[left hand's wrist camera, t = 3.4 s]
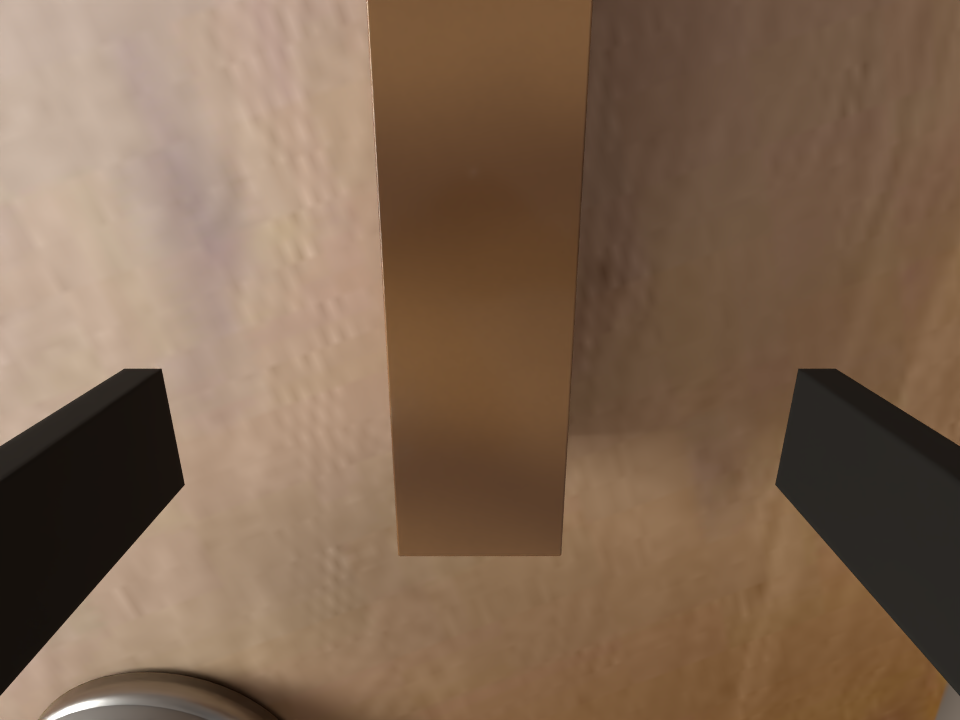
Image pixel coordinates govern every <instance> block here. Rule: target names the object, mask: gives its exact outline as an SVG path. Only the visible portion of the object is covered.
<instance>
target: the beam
mask: <svg viewBox="0 0 960 720" xmlns="http://www.w3.org/2000/svg"><path fill="white" fill-rule="evenodd" d="M366 2H367V19H368V36H369V54H370V71H371V88H372V106H373V123H374V141H375V158H376V175H377V193H378V210H379V228H380V245H381V262H382V280H383V297H384V314H385V332H386V349H387V367H388V384H389V401H390V419H391V436H392V453H393V471H394V488H395V506H396V523H397V540H398V555H399V556H560V555H561V547H562V530H563V513H564V495H565V478H566V460H567V443H568V425H569V408H570V390H571V373H572V355H573V338H574V321H575V303H576V286H577V268H578V251H579V233H580V216H581V198H582V181H583V163H584V146H585V129H586V111H587V94H588V76H589V59H590V41H591V24H592V6H593V0H366Z"/></svg>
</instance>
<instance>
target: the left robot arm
mask: <svg viewBox="0 0 960 720" xmlns="http://www.w3.org/2000/svg"><path fill="white" fill-rule="evenodd" d="M184 485H185V484H184V479H183V474H182V469H181V464H180V459H179V454H178V449H177V444H176V439H175V434H174V429H173V424H172V419H171V414H170V409H169V404H168V399H167V394H166V389H165V384H164V379H163V373H162V369H123V370H122V371H120V372H118V373H117V374H115V375H114V376H112V377H110V378H109V379H107V380H106V381H104V382H102V383H101V384H99V385H98V386H96V387H94V388H93V389H91V390H90V391H88V392H86V393H85V394H83V395H82V396H80V397H78V398H77V399H75V400H74V401H72V402H70V403H69V404H67V405H66V406H64V407H62V408H61V409H59V410H58V411H56V412H54V413H53V414H51V415H50V416H48V417H46V418H45V419H43V420H42V421H40V422H38V423H37V424H35V425H34V426H32V427H30V428H29V429H27V430H26V431H24V432H22V433H21V434H19V435H18V436H16V437H14V438H13V439H11V440H10V441H8V442H6V443H5V444H3V445H2V446H0V695H1V694H2V693H3V692H4V691H5V690H6V689H7V687H8V686H9V685H10V684H11V683H12V682H13V681H14V679H15V678H16V677H17V676H18V675H19V674H20V673H21V671H22V670H23V669H24V668H25V667H26V666H27V665H28V663H29V662H30V661H31V660H32V659H33V658H34V657H35V655H36V654H37V653H38V652H39V651H40V650H41V649H42V647H43V646H44V645H45V644H46V643H47V642H48V641H49V639H50V638H51V637H52V636H53V635H54V634H55V633H56V631H57V630H58V629H59V628H60V627H61V626H62V625H63V623H64V622H65V621H66V620H67V619H68V618H69V617H70V615H71V614H72V613H73V612H74V611H75V610H76V609H77V607H78V606H79V605H80V604H81V603H82V602H83V601H84V599H85V598H86V597H87V596H88V595H89V594H90V592H91V591H92V590H93V589H94V588H95V587H96V586H97V584H98V583H99V582H100V581H101V580H102V579H103V578H104V576H105V575H106V574H107V573H108V572H109V571H110V570H111V568H112V567H113V566H114V565H115V564H116V563H117V562H118V560H119V559H120V558H121V557H122V556H123V555H124V554H125V552H126V551H127V550H128V549H129V548H130V547H131V546H132V544H133V543H134V542H135V541H136V540H137V539H138V538H139V536H140V535H141V534H142V533H143V532H144V531H145V530H146V528H147V527H148V526H149V525H150V524H151V523H152V522H153V520H154V519H155V518H156V517H157V516H158V515H159V514H160V512H161V511H162V510H163V509H164V508H165V507H166V506H167V504H168V503H169V502H170V501H171V500H172V499H173V498H174V496H175V495H176V494H177V493H178V492H179V491H180V490H181V488H182V487H183V486H184ZM775 485H776V486H777V487H778V488H779V490H780V491H781V492H782V493H783V494H784V495H785V496H786V498H787V499H788V500H789V501H790V502H791V503H792V504H793V506H794V507H795V508H796V509H797V510H798V511H799V512H800V514H801V515H802V516H803V517H804V518H805V519H806V520H807V522H808V523H809V524H810V525H811V526H812V527H813V528H814V530H815V531H816V532H817V533H818V534H819V535H820V536H821V538H822V539H823V540H824V541H825V542H826V543H827V544H828V546H829V547H830V548H831V549H832V550H833V551H834V552H835V554H836V555H837V556H838V557H839V558H840V559H841V560H842V562H843V563H844V564H845V565H846V566H847V567H848V568H849V570H850V571H851V572H852V573H853V574H854V575H855V576H856V578H857V579H858V580H859V581H860V582H861V583H862V584H863V586H864V587H865V588H866V589H867V590H868V591H869V592H870V594H871V595H872V596H873V597H874V598H875V599H876V601H877V602H878V603H879V604H880V605H881V606H882V607H883V609H884V610H885V611H886V612H887V613H888V614H889V615H890V617H891V618H892V619H893V620H894V621H895V622H896V623H897V625H898V626H899V627H900V628H901V629H902V630H903V631H904V633H905V634H906V635H907V636H908V637H909V638H910V639H911V641H912V642H913V643H914V644H915V645H916V646H917V647H918V649H919V650H920V651H921V652H922V653H923V654H924V655H925V657H926V658H927V659H928V660H929V661H930V662H931V663H932V665H933V666H934V667H935V668H936V669H937V670H938V671H939V673H940V674H941V675H942V676H943V677H944V678H945V679H946V681H947V682H948V683H949V684H950V685H951V686H952V687H953V689H954V690H955V691H956V692H957V693H958V694H959V695H960V446H958V445H957V444H955V443H954V442H952V441H950V440H949V439H947V438H946V437H944V436H942V435H941V434H939V433H938V432H936V431H934V430H933V429H931V428H930V427H928V426H926V425H925V424H923V423H922V422H920V421H918V420H917V419H915V418H914V417H912V416H910V415H909V414H907V413H906V412H904V411H902V410H901V409H899V408H898V407H896V406H894V405H893V404H891V403H890V402H888V401H886V400H885V399H883V398H882V397H880V396H878V395H877V394H875V393H874V392H872V391H870V390H869V389H867V388H866V387H864V386H862V385H861V384H859V383H858V382H856V381H854V380H853V379H851V378H850V377H848V376H846V375H845V374H843V373H842V372H840V371H838V370H837V369H798V373H797V379H796V384H795V389H794V394H793V399H792V404H791V409H790V414H789V419H788V424H787V429H786V434H785V439H784V444H783V449H782V454H781V459H780V464H779V469H778V474H777V479H776V484H775ZM38 720H278V719H277V718H276V717H275V716H274V715H272V714H271V713H270V712H269V711H267V710H266V709H264V708H263V707H262V706H260V705H259V704H257V703H255V702H254V701H252V700H251V699H249V698H247V697H245V696H243V695H241V694H239V693H237V692H235V691H233V690H230V689H228V688H226V687H223V686H221V685H218V684H215V683H212V682H209V681H205V680H202V679H198V678H194V677H189V676H184V675H179V674H170V673H159V672H133V673H123V674H116V675H111V676H106V677H102V678H99V679H95V680H92V681H89V682H87V683H84V684H81V685H79V686H77V687H75V688H73V689H71V690H69V691H68V692H66V693H65V694H63V695H62V696H60V697H59V698H58V699H57V700H55V701H54V702H53V703H52V704H51V705H50V706H49V707H48V708H47V709H46V710H45V711H44V713H43V714H42V715H41V716H40V718H39V719H38Z"/></svg>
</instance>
